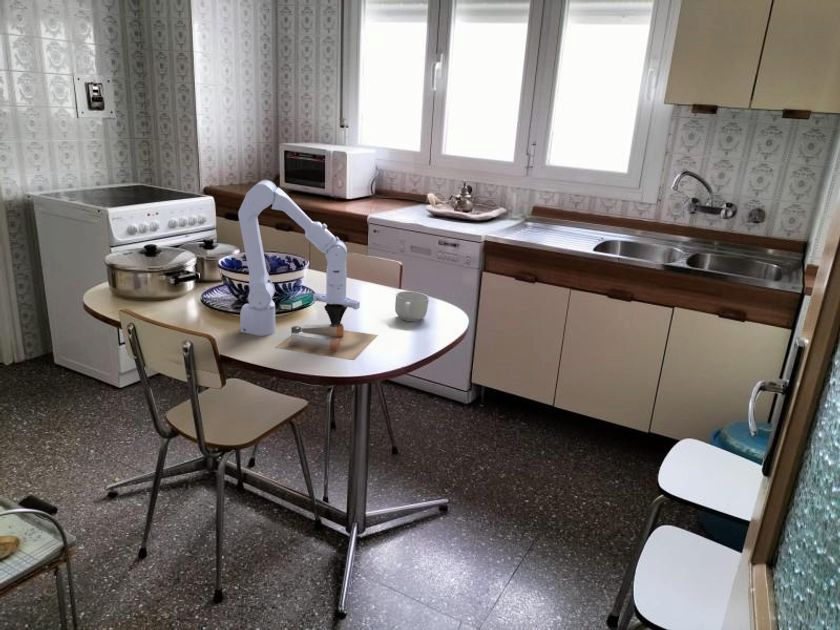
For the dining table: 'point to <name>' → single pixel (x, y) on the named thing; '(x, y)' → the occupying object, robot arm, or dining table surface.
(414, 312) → the teacup
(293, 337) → the tongs fixed half
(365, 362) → the dining table surface
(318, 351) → the board
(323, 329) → the tong arm
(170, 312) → the dining table surface
